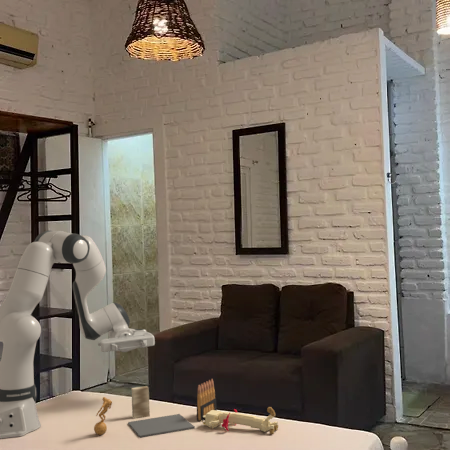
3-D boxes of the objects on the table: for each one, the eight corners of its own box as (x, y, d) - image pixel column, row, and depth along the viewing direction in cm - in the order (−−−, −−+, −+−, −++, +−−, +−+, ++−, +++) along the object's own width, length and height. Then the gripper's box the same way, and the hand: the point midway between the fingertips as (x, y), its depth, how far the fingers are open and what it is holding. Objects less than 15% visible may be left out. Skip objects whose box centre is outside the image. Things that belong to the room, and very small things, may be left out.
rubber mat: (139, 437, 190) (139, 435, 190) (128, 423, 205) (128, 422, 205) (194, 428, 197) (194, 426, 197) (179, 415, 212) (179, 413, 212)
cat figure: (280, 431, 194) (208, 418, 204) (280, 404, 194) (209, 392, 204) (269, 441, 185) (195, 428, 195) (270, 413, 185) (196, 400, 195)
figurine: (101, 430, 199) (100, 393, 200) (118, 431, 197) (116, 393, 198) (88, 438, 191) (86, 400, 192) (105, 439, 190) (103, 400, 190)
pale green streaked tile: (134, 418, 210) (133, 389, 211) (132, 416, 213) (131, 387, 213) (149, 416, 212) (148, 387, 213) (147, 414, 215) (146, 385, 215)
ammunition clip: (201, 421, 204) (200, 385, 204) (196, 421, 205) (195, 385, 205) (217, 412, 213) (215, 378, 213) (212, 412, 214) (210, 377, 214)
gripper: (96, 335, 233) (101, 341, 220) (149, 328, 240) (157, 334, 227) (97, 351, 233) (103, 359, 220) (150, 344, 240) (158, 351, 227)
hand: (131, 346), depth 224 cm, fingers open, 8 cm apart
